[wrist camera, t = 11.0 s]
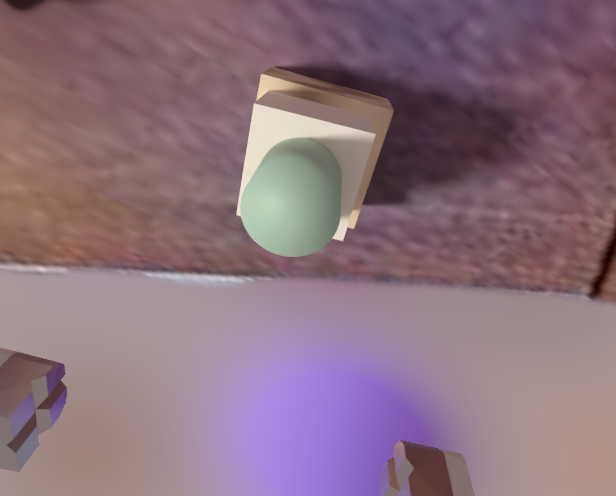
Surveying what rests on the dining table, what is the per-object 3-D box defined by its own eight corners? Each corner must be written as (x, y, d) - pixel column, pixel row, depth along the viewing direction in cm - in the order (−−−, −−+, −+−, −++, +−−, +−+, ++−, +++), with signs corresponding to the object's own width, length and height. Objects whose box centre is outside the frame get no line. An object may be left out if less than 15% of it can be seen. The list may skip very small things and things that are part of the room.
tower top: (371, 116, 28) (375, 134, 23) (343, 210, 31) (342, 240, 27) (268, 90, 28) (254, 103, 23) (251, 187, 31) (236, 214, 27)
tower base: (387, 98, 32) (394, 110, 27) (353, 203, 36) (353, 228, 32) (273, 66, 31) (261, 73, 27) (252, 176, 36) (238, 198, 31)
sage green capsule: (352, 151, 24) (353, 179, 20) (328, 226, 26) (324, 267, 22) (268, 127, 24) (250, 151, 19) (251, 205, 26) (232, 242, 22)
